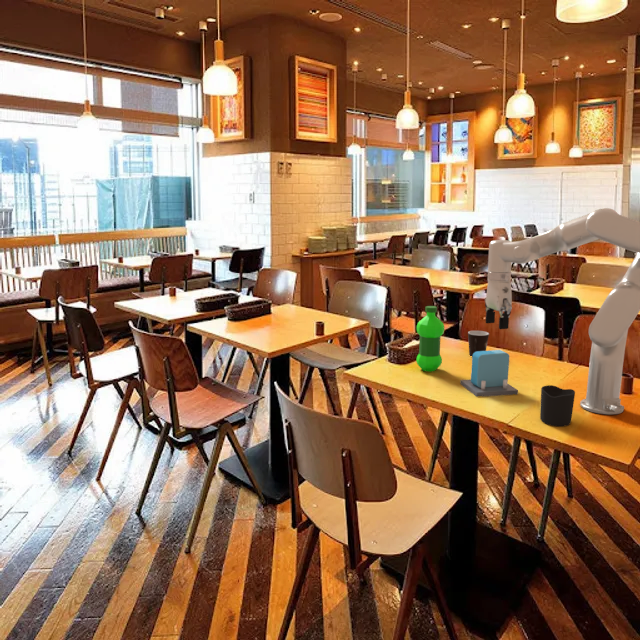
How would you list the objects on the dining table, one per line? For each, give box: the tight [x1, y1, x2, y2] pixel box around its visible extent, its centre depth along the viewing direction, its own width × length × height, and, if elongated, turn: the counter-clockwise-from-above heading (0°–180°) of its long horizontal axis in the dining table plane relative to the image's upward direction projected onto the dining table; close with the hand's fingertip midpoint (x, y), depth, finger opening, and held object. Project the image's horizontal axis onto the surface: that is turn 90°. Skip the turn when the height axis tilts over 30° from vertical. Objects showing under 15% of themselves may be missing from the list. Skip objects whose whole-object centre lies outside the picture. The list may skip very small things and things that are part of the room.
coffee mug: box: [467, 330, 490, 357], centre depth 250 cm, size 12×9×10 cm
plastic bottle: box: [415, 305, 445, 373], centre depth 230 cm, size 10×10×25 cm
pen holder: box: [539, 384, 576, 428], centre depth 179 cm, size 9×9×10 cm
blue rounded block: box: [470, 349, 510, 388], centre depth 208 cm, size 12×4×12 cm, turn 104°
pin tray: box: [459, 379, 519, 398], centre depth 209 cm, size 14×15×4 cm
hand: (496, 325), depth 205 cm, fingers open, 9 cm apart
